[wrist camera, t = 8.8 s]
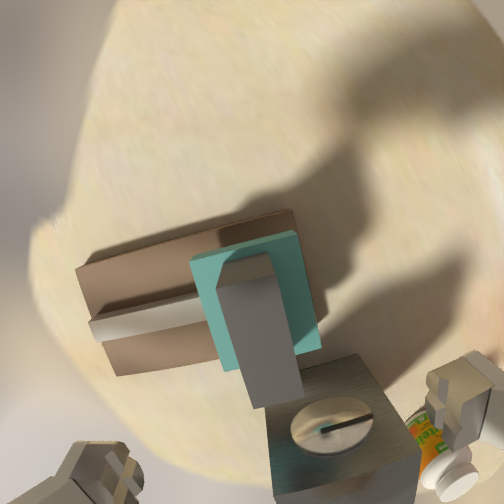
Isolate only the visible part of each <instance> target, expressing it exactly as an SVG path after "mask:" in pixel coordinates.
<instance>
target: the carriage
mask: <svg viewBox="0 0 504 504" xmlns="http://www.w3.org/2000/svg"><path fill="white" fill-rule="evenodd" d="M189 264H190V267H191V271H192V274H193V277H194V281H195V284H196V287H197V290H198V294H199V297H200V300H201V303H202V307H203V310H204V313H205V316H206V319H207V322H208V325H209V328H210V331H211V334H212V337H213V340H214V343H215V346H216V349H217V352H218V355H219V358H220V361H221V364H222V367H223V370H224V372H226V371H231V370H236V369H240V370H241V373H242V376H243V379H244V382H245V385H246V388H247V391H248V394H249V397H250V400H251V403H252V406H253V409H257V408H262V407H266V406H271V405H275V404H279V403H284V402H288V401H292V400H296V399H300V398H304V397H305V394H304V390H303V386H302V381H301V377H300V373H299V368H298V364H297V360H296V355H298V354H302V353H306V352H309V351H313V350H317V349H320V348H322V347H321V342H320V336H319V331H318V326H317V321H316V317H315V312H314V307H313V302H312V297H311V293H310V288H309V283H308V279H307V274H306V270H305V265H304V261H303V256H302V252H301V247H300V243H299V239H298V234H297V233H296V232H294V231H293V230H289V231H285V232H281V233H278V234H274V235H270V236H266V237H262V238H258V239H254V240H250V241H246V242H242V243H238V244H235V245H231V246H227V247H223V248H219V249H215V250H211V251H208V252H204V253H200V254H196V255H194V256H193V257H192V258H191V260H190V261H189Z"/></svg>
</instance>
